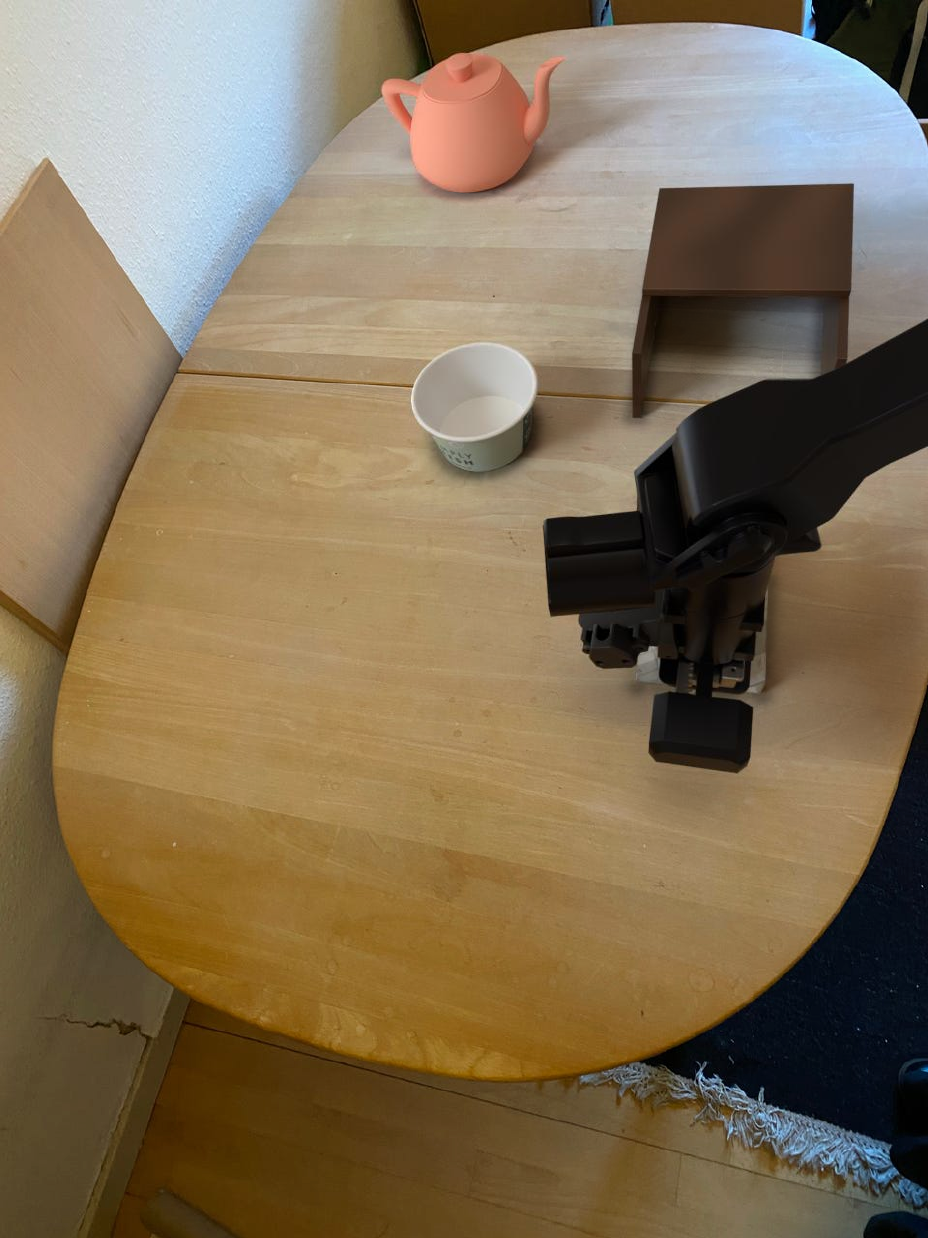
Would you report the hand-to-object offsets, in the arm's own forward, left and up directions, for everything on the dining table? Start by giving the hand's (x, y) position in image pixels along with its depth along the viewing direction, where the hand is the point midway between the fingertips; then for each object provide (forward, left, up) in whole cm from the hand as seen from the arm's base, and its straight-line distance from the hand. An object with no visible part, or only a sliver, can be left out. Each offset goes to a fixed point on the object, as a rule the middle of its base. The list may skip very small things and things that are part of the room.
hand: (699, 681), depth 64 cm
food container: (+23, -25, -3) cm, 34 cm away
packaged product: (0, -10, -3) cm, 10 cm away
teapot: (+32, -67, -3) cm, 74 cm away
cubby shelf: (0, -38, -3) cm, 38 cm away
